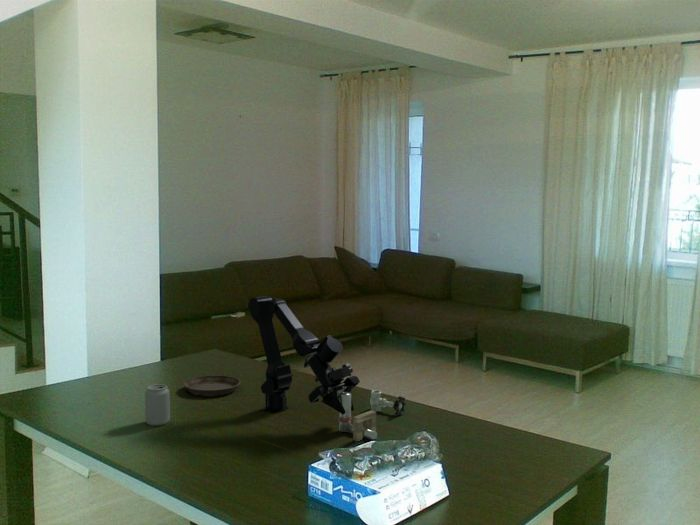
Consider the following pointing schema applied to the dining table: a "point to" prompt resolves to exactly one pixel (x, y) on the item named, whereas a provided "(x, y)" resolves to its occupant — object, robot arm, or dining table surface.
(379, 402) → the valve
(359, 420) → the beige arch block
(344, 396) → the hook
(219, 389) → the plant saucer
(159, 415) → the can
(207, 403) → the dining table surface
